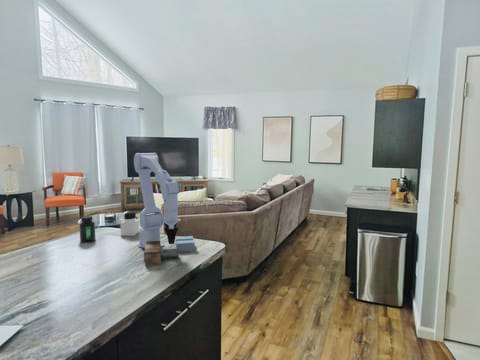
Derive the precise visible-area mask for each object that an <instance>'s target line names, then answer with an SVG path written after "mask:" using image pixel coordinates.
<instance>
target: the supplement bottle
mask: <svg viewBox="0 0 480 360" xmlns="http://www.w3.org/2000/svg"><path fill="white" fill-rule="evenodd" d="M80 221H81V222H80V223H79V224H78V225H79V241H80V243H83V244H84V243H92V242H95V240H96V223H95V222H94V221H93V216H92V215H85V216H81V219H80Z"/></svg>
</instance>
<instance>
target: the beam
mask: <svg viewBox="0 0 480 360" xmlns="http://www.w3.org/2000/svg"><path fill="white" fill-rule="evenodd" d="M160 244H161V240H160V241H147V242H146V247H145V248H144V251H145V260H144V266H145V267H146V266H147V267H149V266H157V265H158V266H159V265H162V264H161V263H162V261H161V260H162V259H161V256H160V250H162V249H161V247H160Z"/></svg>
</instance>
